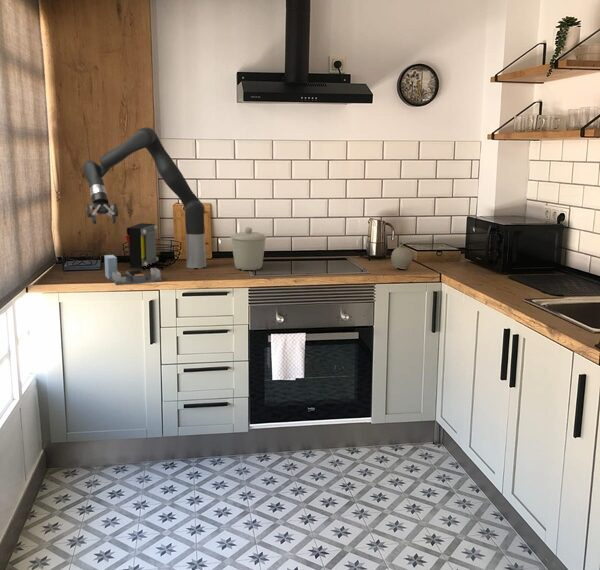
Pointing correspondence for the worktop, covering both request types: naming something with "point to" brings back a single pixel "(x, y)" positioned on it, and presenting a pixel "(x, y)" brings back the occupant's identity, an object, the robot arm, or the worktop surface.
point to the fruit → (401, 257)
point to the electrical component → (142, 244)
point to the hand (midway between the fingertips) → (104, 222)
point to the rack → (135, 277)
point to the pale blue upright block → (110, 265)
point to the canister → (248, 249)
